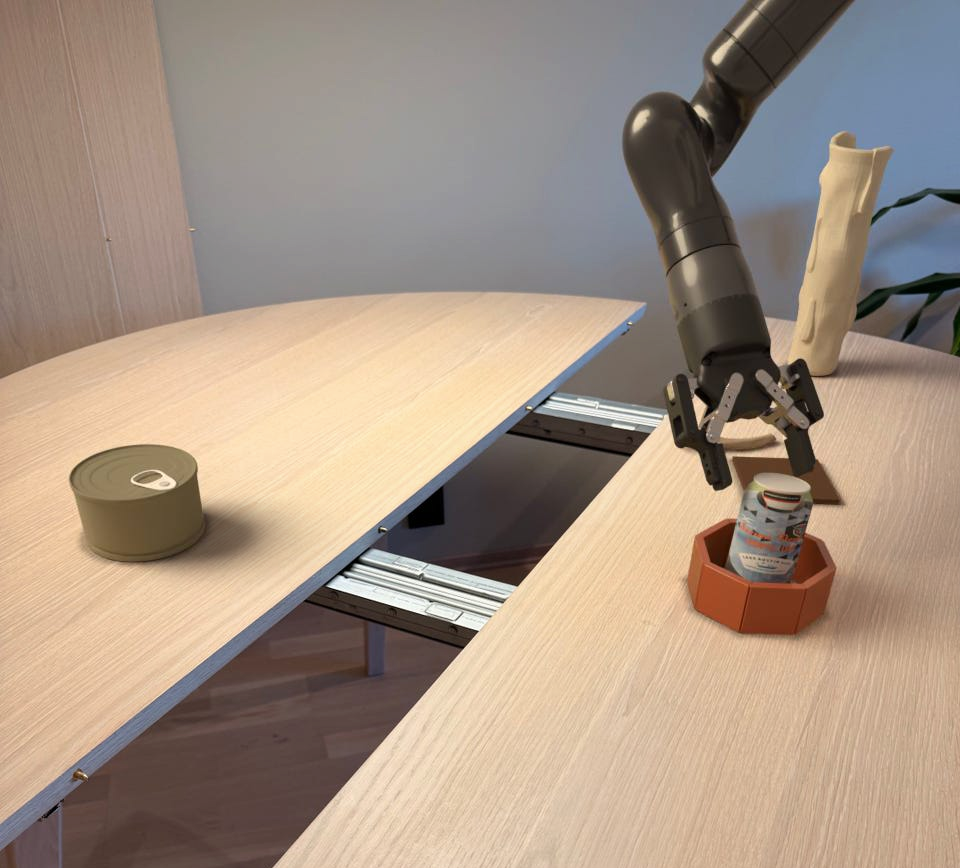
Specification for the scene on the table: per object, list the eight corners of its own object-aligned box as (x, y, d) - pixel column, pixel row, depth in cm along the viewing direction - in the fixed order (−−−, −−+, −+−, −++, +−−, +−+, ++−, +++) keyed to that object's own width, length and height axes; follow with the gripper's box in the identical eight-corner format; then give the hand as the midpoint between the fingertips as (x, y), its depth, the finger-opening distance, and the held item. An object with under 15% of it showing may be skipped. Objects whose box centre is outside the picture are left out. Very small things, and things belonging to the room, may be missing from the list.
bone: (780, 448, 119) (784, 432, 117) (691, 453, 117) (693, 436, 116) (772, 439, 121) (775, 423, 119) (684, 444, 119) (686, 427, 118)
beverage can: (714, 610, 90) (737, 494, 83) (726, 570, 96) (749, 458, 89) (783, 625, 89) (813, 508, 82) (792, 584, 94) (820, 471, 87)
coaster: (816, 463, 116) (817, 458, 115) (839, 504, 108) (840, 499, 107) (731, 460, 116) (732, 456, 115) (747, 501, 108) (748, 496, 107)
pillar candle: (773, 357, 143) (820, 129, 126) (829, 356, 144) (883, 129, 127) (794, 379, 137) (847, 141, 119) (853, 378, 137) (914, 142, 120)
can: (154, 492, 106) (142, 433, 102) (231, 526, 101) (222, 465, 97) (58, 537, 98) (42, 475, 94) (137, 576, 93) (123, 512, 89)
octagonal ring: (802, 565, 97) (814, 521, 94) (834, 636, 88) (848, 590, 85) (681, 561, 97) (689, 516, 94) (699, 632, 88) (708, 585, 85)
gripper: (667, 298, 83) (717, 479, 82) (806, 283, 88) (857, 455, 86) (630, 339, 90) (675, 506, 89) (760, 323, 95) (806, 483, 93)
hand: (765, 481), depth 87 cm, fingers open, 8 cm apart
